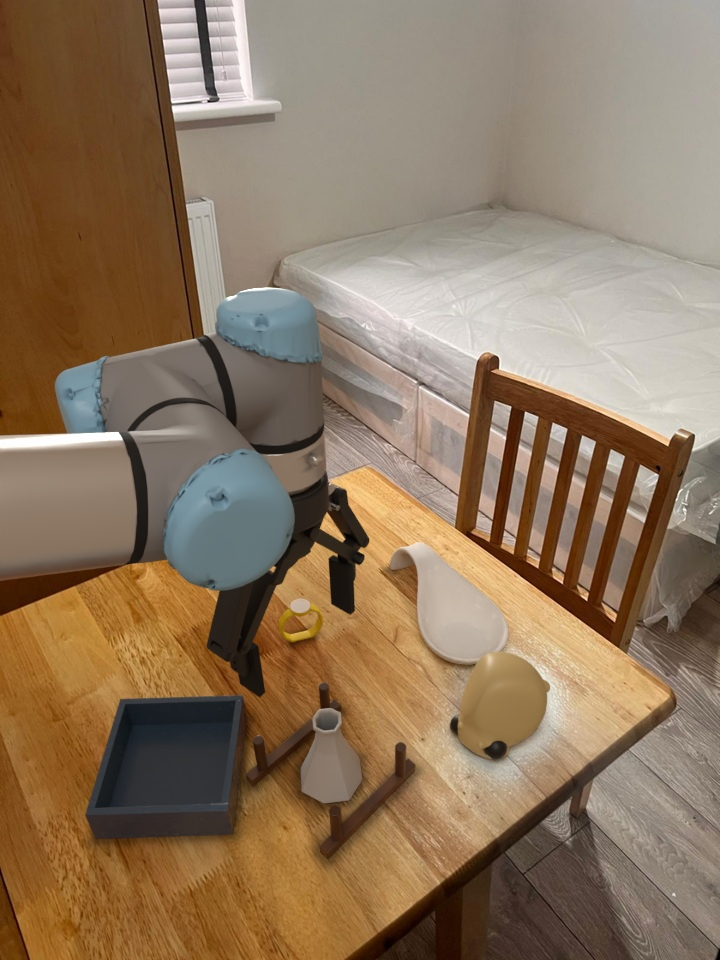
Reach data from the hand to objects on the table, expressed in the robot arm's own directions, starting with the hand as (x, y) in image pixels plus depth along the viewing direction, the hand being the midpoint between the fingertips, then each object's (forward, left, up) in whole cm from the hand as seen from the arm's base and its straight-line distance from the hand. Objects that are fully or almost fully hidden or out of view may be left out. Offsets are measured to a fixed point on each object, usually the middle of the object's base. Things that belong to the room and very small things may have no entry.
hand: (300, 645), depth 74 cm
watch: (+12, +15, -19) cm, 27 cm away
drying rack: (0, -3, -19) cm, 19 cm away
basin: (-12, +10, -19) cm, 24 cm away
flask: (0, -3, -19) cm, 19 cm away
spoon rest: (+28, +3, -19) cm, 34 cm away
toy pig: (+18, -13, -19) cm, 29 cm away
